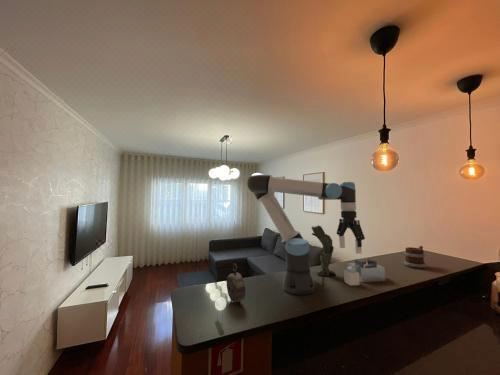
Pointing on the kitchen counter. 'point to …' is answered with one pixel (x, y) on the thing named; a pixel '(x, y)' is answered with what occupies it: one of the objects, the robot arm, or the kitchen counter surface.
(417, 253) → the chocolate layer cake
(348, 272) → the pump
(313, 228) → the mechanical leg
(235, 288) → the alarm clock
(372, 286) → the kitchen counter surface
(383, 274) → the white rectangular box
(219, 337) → the kitchen counter surface
